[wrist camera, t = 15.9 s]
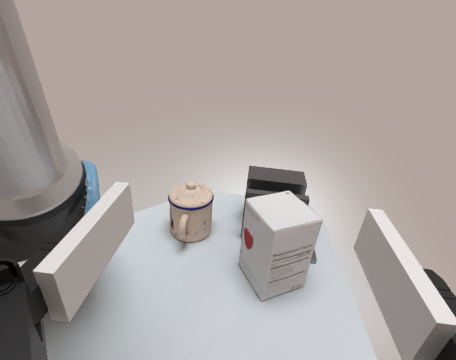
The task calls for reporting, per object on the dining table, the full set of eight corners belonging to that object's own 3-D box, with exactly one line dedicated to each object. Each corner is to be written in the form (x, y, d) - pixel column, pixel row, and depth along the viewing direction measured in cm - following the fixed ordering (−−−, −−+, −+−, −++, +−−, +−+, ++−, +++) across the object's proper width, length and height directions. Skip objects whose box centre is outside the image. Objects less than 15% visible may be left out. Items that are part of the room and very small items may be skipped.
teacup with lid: (176, 214, 65) (175, 170, 59) (215, 219, 64) (217, 174, 58) (159, 250, 54) (155, 200, 49) (204, 256, 54) (206, 206, 48)
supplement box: (236, 264, 53) (244, 197, 45) (277, 252, 56) (289, 188, 49) (260, 303, 45) (273, 231, 38) (304, 287, 49) (324, 218, 42)
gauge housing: (238, 252, 55) (244, 202, 49) (244, 209, 68) (249, 165, 62) (315, 263, 54) (330, 213, 48) (306, 217, 67) (317, 173, 61)
